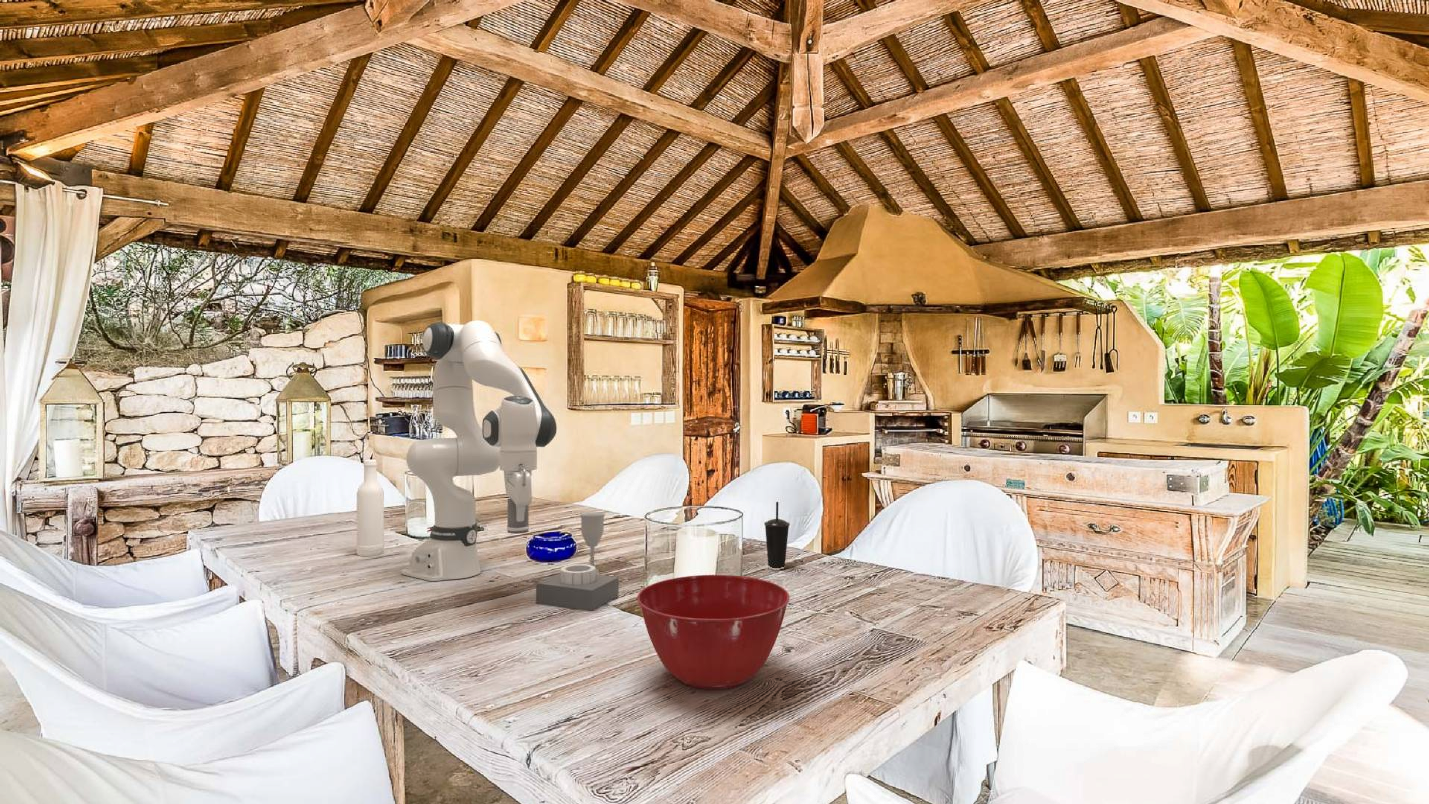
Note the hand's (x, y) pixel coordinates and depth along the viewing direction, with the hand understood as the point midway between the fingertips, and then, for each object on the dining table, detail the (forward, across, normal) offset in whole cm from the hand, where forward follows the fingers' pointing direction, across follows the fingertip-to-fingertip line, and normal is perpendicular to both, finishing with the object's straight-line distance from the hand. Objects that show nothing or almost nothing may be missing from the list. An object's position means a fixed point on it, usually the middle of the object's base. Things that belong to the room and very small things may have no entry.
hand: (518, 518), depth 177 cm
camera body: (+21, -1, -15) cm, 26 cm away
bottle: (+21, +73, +36) cm, 84 cm away
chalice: (+22, +19, -23) cm, 37 cm away
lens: (+3, 0, 0) cm, 3 cm away
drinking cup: (+22, +10, -77) cm, 80 cm away
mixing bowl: (+22, -57, -28) cm, 67 cm away
